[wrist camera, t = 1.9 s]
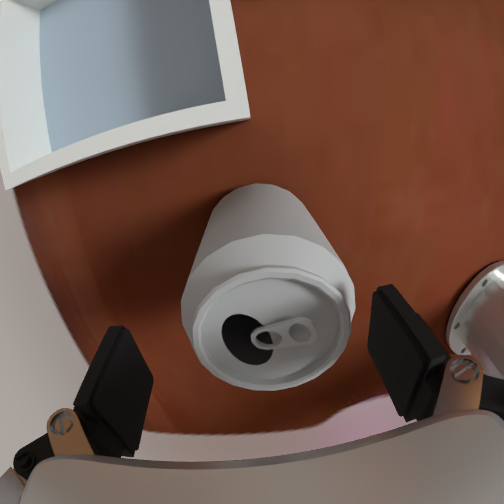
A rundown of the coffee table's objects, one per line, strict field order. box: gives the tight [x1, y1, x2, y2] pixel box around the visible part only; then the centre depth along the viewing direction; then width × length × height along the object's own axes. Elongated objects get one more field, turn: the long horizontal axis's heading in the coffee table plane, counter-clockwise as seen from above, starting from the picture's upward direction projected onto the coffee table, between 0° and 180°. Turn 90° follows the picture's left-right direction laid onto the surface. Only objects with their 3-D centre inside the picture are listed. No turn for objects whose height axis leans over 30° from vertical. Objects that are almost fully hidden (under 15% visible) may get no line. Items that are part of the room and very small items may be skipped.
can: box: [181, 183, 355, 391], centre depth 16 cm, size 8×8×12 cm
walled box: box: [0, 0, 250, 191], centre depth 13 cm, size 16×16×6 cm
